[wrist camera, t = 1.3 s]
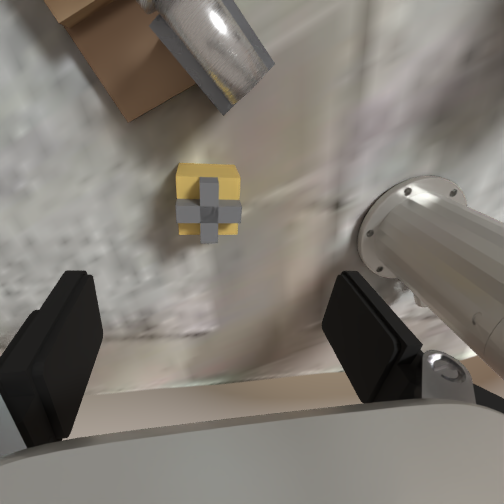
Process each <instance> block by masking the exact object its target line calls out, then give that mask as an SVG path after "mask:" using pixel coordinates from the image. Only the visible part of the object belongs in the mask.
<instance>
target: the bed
mask: <svg viewBox="0 0 504 504" xmlns="http://www.w3.org/2000/svg"><path fill="white" fill-rule="evenodd" d="M233 1H234V0H233ZM44 2H45V3H46V5H47V6H48V8H49V9H50V11H51V12H52V14H53V15H54V17H55V18H56V20H57V21H58V23H59V24H62V25H63V26H64V28H65V29H66V31H67V32H68V34H69V35H70V37H71V38H72V40H73V41H74V43H75V44H76V46H77V47H78V49H79V50H80V52H81V53H82V55H83V56H84V58H85V59H86V61H87V62H88V64H89V65H90V67H91V68H92V70H93V71H94V73H95V74H96V76H97V77H98V79H99V80H100V82H101V83H102V85H103V86H104V88H105V89H106V91H107V92H108V94H109V95H110V97H111V98H112V100H113V101H114V103H115V104H116V106H117V107H118V109H119V110H120V112H121V113H122V115H123V116H124V117H125V119H126V120H127V122H130V121H132V120H134V119H136V118H137V117H139V116H141V115H143V114H144V113H146V112H148V111H149V110H151V109H153V108H155V107H156V106H158V105H160V104H162V103H163V102H165V101H167V100H169V99H170V98H172V97H174V96H176V95H177V94H179V93H181V92H182V91H184V90H186V89H188V88H189V87H191V86H193V85H195V84H196V82H195V81H194V80H193V79H192V77H191V76H190V75H189V74H188V73H187V71H186V70H185V69H184V68H183V67H182V65H181V64H180V63H179V62H178V61H177V59H176V58H175V57H174V56H173V55H172V53H171V52H170V51H169V50H168V49H167V47H166V46H165V45H164V44H163V43H162V41H161V40H160V39H159V38H158V37H157V35H156V34H155V33H154V32H153V31H152V29H151V28H150V27H149V25H150V24H151V23H152V21H153V20H154V19H155V18H156V17H157V15H158V14H159V13H158V11H155V12H154V13H152V14H146V13H145V11H144V10H143V9H142V8H141V7H140V5H139V4H138V3H137V2H136V0H44Z"/></svg>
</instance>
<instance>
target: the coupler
mask: <svg viewBox="0 0 504 504" xmlns="http://www.w3.org/2000/svg"><path fill="white" fill-rule="evenodd" d="M176 191H177V201H176V221H177V223H178V225H179V235H200V236H201V243H218V235H232V234H237V232H238V223H241V212H242V206H241V203H240V200H239V196H240V176H239V174H238V172H237V169H236V167H235V165H219V164H194V163H179V165H178V169H177V173H176Z"/></svg>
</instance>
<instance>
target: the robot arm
mask: <svg viewBox="0 0 504 504" xmlns="http://www.w3.org/2000/svg"><path fill="white" fill-rule="evenodd" d="M358 251H359V255H360V257H361V260H362V261H363V263H364V264H365V265H366V266H367V267H368V268H369V269H370V270H371V271H372V272H373V273H375V274H377V275H379V276H381V277H385V278H395V279H396V278H398V279H399V280H400V281H401V282H402V283H404V284H405V285H406V286H407V287H408V288H409V289H410V290H411V291H412V292H413V294H414V299H415V303H416V304H417V305H418V306H420V307H428V308H429V309H430V310H431V311H432V312H434V313H435V314H436V315H437V316H438V317H439V318H440V319H441V320H442V321H443V322H444V323H445V324H446V325H447V326H448V327H449V328H450V329H451V330H452V331H453V332H454V333H455V334H456V335H457V336H458V337H459V338H460V339H461V340H462V341H464V342H465V343H466V344H467V345H468V346H469V347H470V348H471V349H472V350H473V351H474V352H475V353H476V354H477V355H478V356H479V357H480V358H481V359H482V360H483V361H484V362H485V363H486V364H488V366H489V367H491V368H492V369H493V370H494V371H495V372H496V373H497V374H498V375H499V376H500V377H501V378H502V379H503V380H504V223H503V222H501V221H498V220H496V219H494V218H492V217H490V216H487V215H485V214H483V213H481V212H478V211H476V210H474V209H472V208H470V207H467V202H466V198H465V195H464V193H463V191H462V190H461V189H460V188H459V187H458V185H456V184H455V183H453V182H451V181H450V180H447V179H444V178H442V177H437V176H431V175H430V176H419V177H415V178H411V179H408V180H406V181H404V182H402V183H399V184H398V185H396V186H394V187H393V188H391V189H390V190H388V191H387V192H386V193H385V194H384V195H382V196H381V197H380V198H379V199H378V200H377V201H376V202H375V204H374V205H373V206H372V207H371V208H370V210H369V212H368V213H367V215H366V216H365V218H364V220H363V222H362V225H361V227H360V231H359V235H358ZM322 329H323V332H324V333H325V335H326V337H327V339H328V341H329V343H330V345H331V346H332V348H333V350H334V352H335V354H336V356H337V358H338V360H339V361H340V363H341V365H342V367H343V369H344V371H345V373H346V375H347V376H348V378H349V380H350V382H351V384H352V386H353V387H354V390H355V391H356V393H357V395H358V397H359V399H360V400H361V402H362V403H364V404H356V405H346V406H337V407H328V408H320V409H310V410H301V411H292V412H284V413H275V414H266V415H257V416H249V417H240V418H231V419H223V420H214V421H206V422H198V423H189V424H182V425H173V426H164V427H156V428H148V429H140V430H133V431H125V432H118V433H110V434H103V435H96V436H89V437H81V438H75V439H69V440H64V441H62V438H67V437H69V435H70V433H71V430H72V427H73V424H74V421H75V418H76V416H77V413H78V410H79V407H80V404H81V401H82V398H83V395H84V392H85V389H86V386H87V384H88V381H89V378H90V375H91V372H92V369H93V366H94V363H95V360H96V357H97V354H98V351H99V349H100V346H101V343H102V339H103V329H102V323H101V318H100V312H99V307H98V301H97V296H96V290H95V285H94V279H93V276H92V275H87V272H86V271H65V272H64V274H63V275H62V277H61V278H60V280H59V281H58V283H57V284H56V286H55V287H54V289H53V290H52V292H51V293H50V295H49V296H48V298H47V299H46V301H45V302H44V304H43V305H42V307H41V308H40V310H35V311H33V312H32V313H31V314H30V315H29V316H28V318H27V319H26V321H25V322H24V324H23V325H22V326H21V328H20V329H19V331H18V332H17V334H16V335H15V337H14V338H13V339H12V341H11V342H10V344H9V345H8V347H7V348H6V350H5V351H4V352H3V354H2V355H1V357H0V504H504V399H503V398H501V397H499V396H497V395H495V394H493V393H491V392H489V391H487V390H485V389H483V388H481V387H479V386H477V385H475V384H473V383H472V378H471V375H470V373H469V371H468V370H467V369H466V367H465V366H464V365H463V364H462V363H460V362H459V361H458V360H456V359H455V358H454V357H452V356H450V355H448V354H446V353H444V352H441V351H436V350H429V351H426V352H425V353H423V352H422V351H421V350H420V349H421V347H422V345H423V344H422V343H421V342H420V341H419V340H418V339H417V338H416V336H415V335H414V334H413V333H412V332H411V331H410V330H409V329H408V327H407V326H406V325H405V324H404V323H403V322H402V321H401V320H400V318H399V317H398V316H397V315H396V314H395V313H394V312H393V311H392V309H391V308H390V307H389V306H388V305H387V304H386V303H385V302H384V300H383V299H382V298H381V297H380V296H379V295H378V294H377V293H376V291H375V290H374V289H373V288H372V287H371V286H370V285H369V283H368V282H367V281H366V280H365V279H364V278H363V277H362V276H361V274H360V273H359V272H357V271H343V272H342V273H341V275H338V276H337V279H336V282H335V285H334V288H333V291H332V294H331V297H330V300H329V303H328V306H327V309H326V312H325V315H324V318H323V321H322Z"/></svg>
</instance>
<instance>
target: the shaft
mask: <svg viewBox="0 0 504 504" xmlns="http://www.w3.org/2000/svg"><path fill="white" fill-rule="evenodd" d="M136 2H137V3H138V4H139V5H140V7H141V8H142V9H143V10H144V11H145V13H146V14H152V13H154V12H155V11H158V13H159V14H158V15H157V17H156V18H155V19H154V20H153V21H152V23H151V24H150V25H149V27H150V28H151V29H152V31H153V32H154V33H155V34H156V35H157V37H158V38H159V39H160V40H161V41H162V43H163V44H164V45H165V46H166V47H167V49H168V50H169V51H170V52H171V53H172V55H173V56H174V57H175V58H176V59H177V61H178V62H179V63H180V64H181V65H182V67H183V68H184V69H185V70H186V71H187V73H188V74H189V75H190V76H191V77H192V79H193V80H194V81H195V82H196V83H197V85H198V86H199V87H200V88H201V89H202V91H203V92H204V93H205V94H206V95H207V97H208V98H209V99H210V100H211V101H212V103H213V104H214V105H215V106H216V107H217V109H218V110H219V111H220V112H221V113H222V115H223V116H224V115H225V114H226V113H227V112H228V111H229V110H230V109H231V108H232V107H233V106H234V105H235V104H236V103H237V102H238V101H239V100H240V99H241V98H242V97H244V96H245V95H246V94H247V93H248V92H249V91H250V90H251V89H252V88H253V87H254V86H255V85H256V84H257V83H258V82H259V81H260V80H261V79H262V77H263V76H264V75H265V74H266V73H267V72H268V71H269V70H270V69H271V68H272V67H273V65H274V64H275V63H274V62H273V60H272V59H271V57H270V55H269V54H268V52H267V51H266V49H265V48H264V46H263V45H262V43H261V42H260V40H259V39H258V37H257V36H256V34H255V33H254V31H253V30H252V28H251V27H250V25H249V24H248V22H247V21H246V19H245V18H244V16H243V14H242V13H241V11H240V10H239V8H238V7H237V5H236V4H235V2H234V1H233V0H136Z"/></svg>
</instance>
